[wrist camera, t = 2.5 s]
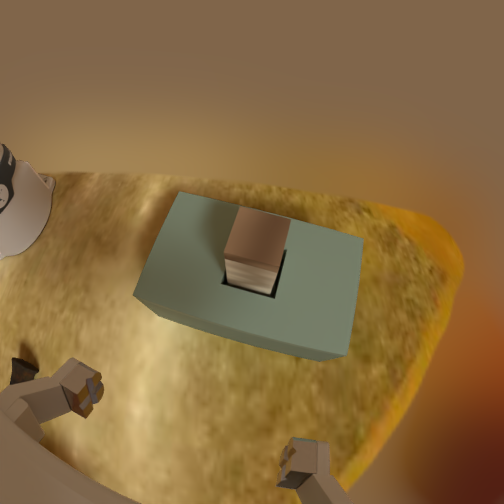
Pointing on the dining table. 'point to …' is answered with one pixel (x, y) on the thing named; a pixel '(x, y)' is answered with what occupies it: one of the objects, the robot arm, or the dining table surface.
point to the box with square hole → (246, 303)
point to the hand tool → (22, 371)
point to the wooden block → (255, 250)
